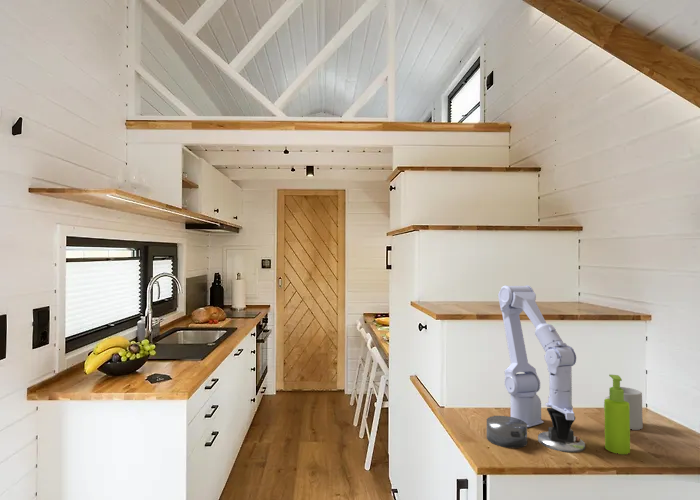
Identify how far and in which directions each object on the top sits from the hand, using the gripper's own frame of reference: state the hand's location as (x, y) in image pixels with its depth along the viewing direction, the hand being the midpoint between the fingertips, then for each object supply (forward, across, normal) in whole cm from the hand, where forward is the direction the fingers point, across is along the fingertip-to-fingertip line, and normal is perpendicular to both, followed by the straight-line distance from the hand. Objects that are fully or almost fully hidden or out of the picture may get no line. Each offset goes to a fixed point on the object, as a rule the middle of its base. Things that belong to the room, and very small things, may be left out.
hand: (560, 436), depth 121 cm
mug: (+2, -17, +25) cm, 30 cm away
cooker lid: (+2, 0, 0) cm, 2 cm away
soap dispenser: (+2, +2, +14) cm, 14 cm away
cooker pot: (+2, 0, -15) cm, 15 cm away
